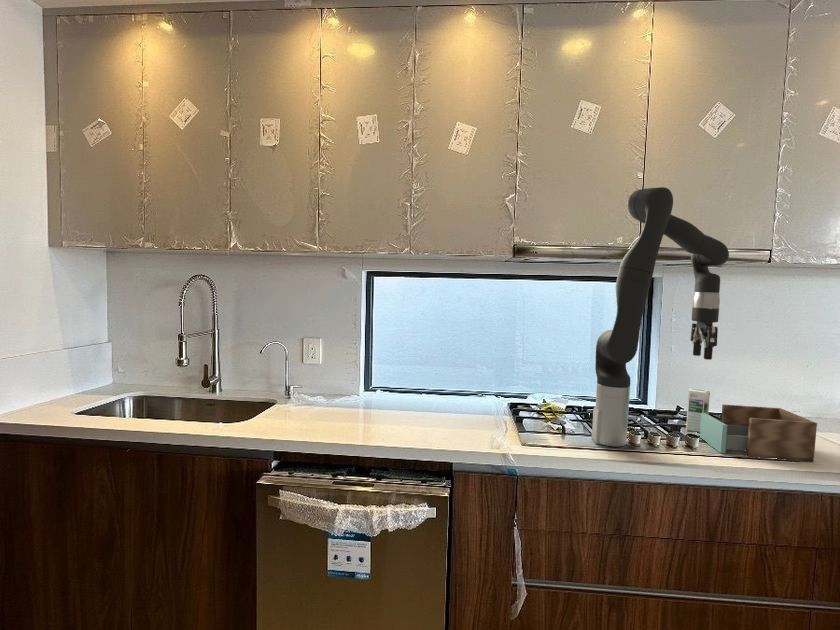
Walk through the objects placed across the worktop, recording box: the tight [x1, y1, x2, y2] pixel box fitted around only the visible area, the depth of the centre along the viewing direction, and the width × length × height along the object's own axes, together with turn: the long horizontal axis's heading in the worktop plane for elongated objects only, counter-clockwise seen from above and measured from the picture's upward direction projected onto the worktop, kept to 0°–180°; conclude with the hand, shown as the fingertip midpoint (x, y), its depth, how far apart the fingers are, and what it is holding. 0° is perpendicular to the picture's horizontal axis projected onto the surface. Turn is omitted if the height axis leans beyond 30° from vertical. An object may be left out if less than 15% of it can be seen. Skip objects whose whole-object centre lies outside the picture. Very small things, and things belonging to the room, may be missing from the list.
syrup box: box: [685, 387, 711, 434], centre depth 171 cm, size 6×6×14 cm
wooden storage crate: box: [720, 404, 818, 463], centre depth 157 cm, size 17×18×11 cm
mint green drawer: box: [700, 413, 749, 454], centre depth 158 cm, size 14×15×8 cm
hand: (702, 357), depth 170 cm, fingers open, 8 cm apart
